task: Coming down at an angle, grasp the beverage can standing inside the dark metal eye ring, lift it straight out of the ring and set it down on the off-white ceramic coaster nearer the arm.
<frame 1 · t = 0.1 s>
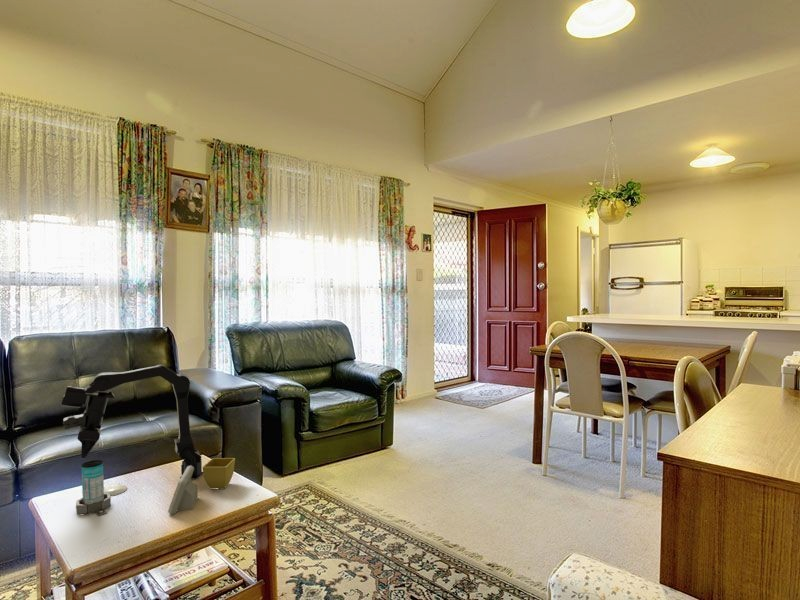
hand: (83, 453, 164), 15 cm above the table, tool pointing down, fingers open, 9 cm apart
digital clock: (182, 505, 158), on the table
coaster: (112, 490, 170), on the table
eye ring: (93, 508, 157), on the table
flower pot: (219, 487, 172), on the table
beverage can: (93, 508, 157), resting in eye ring
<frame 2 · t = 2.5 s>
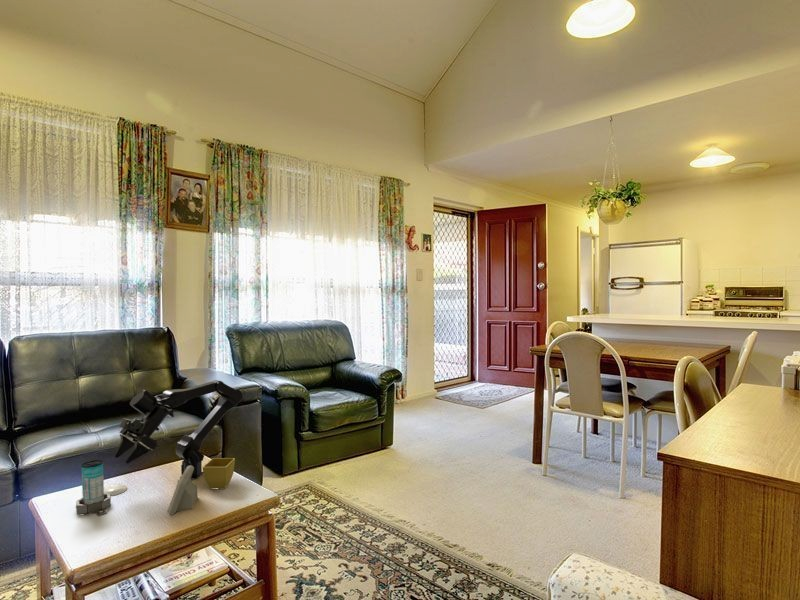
hand: (120, 460, 163), 13 cm above the table, tool tilted 45°, fingers open, 9 cm apart
nothing on the table moved.
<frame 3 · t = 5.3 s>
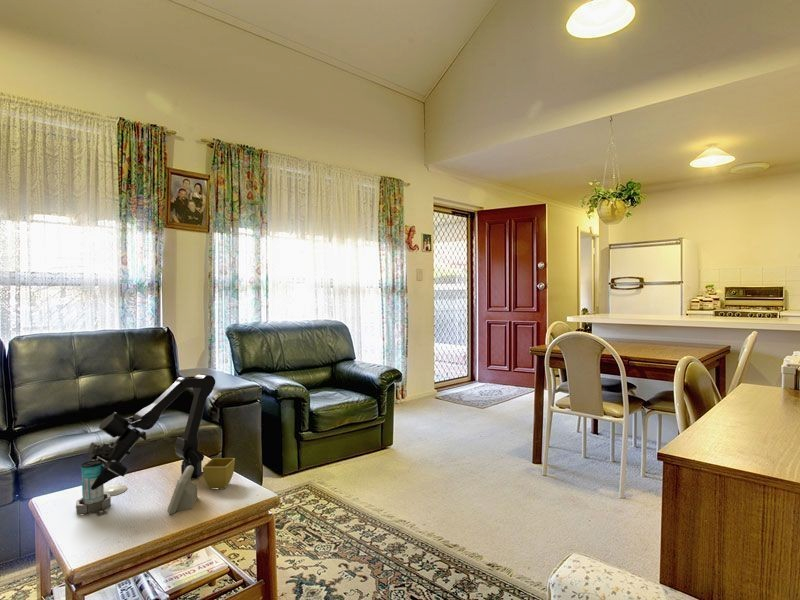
hand: (88, 486, 155), 8 cm above the table, tool tilted 45°, fingers closed on beverage can, 6 cm apart
beverage can: (93, 508, 157), resting in eye ring, touching gripper
everything else where it was.
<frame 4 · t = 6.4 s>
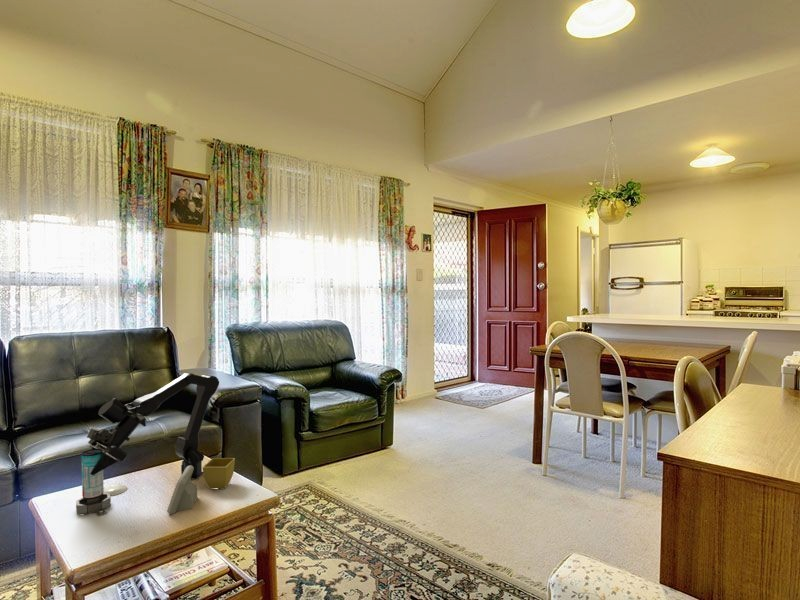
hand: (88, 472, 155), 12 cm above the table, tool tilted 45°, fingers closed on beverage can, 6 cm apart
beverage can: (93, 496, 157), point 4 cm above the table, touching gripper
everything else where it was.
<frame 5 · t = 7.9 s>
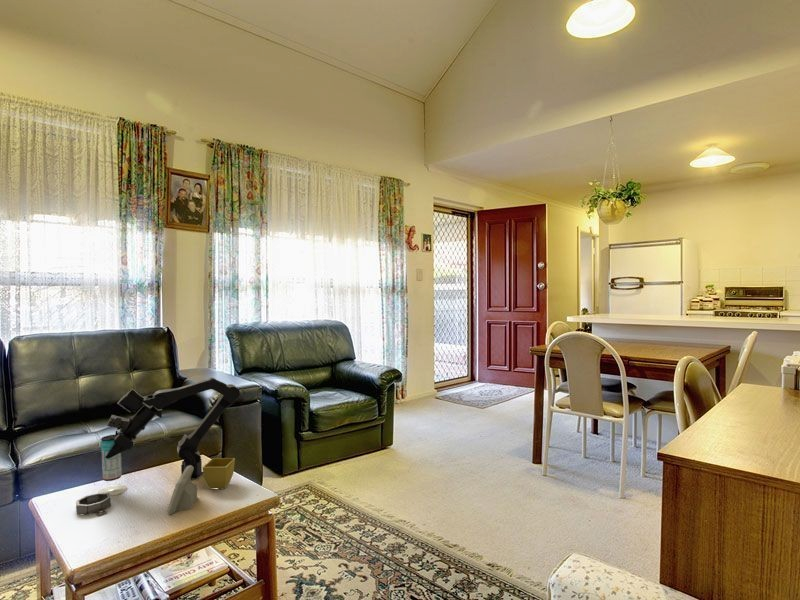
hand: (107, 455, 169), 13 cm above the table, tool tilted 45°, fingers closed on beverage can, 6 cm apart
beverage can: (112, 478, 170), point 4 cm above the table, touching gripper
everything else where it was.
when the fingers open (9 cm above the table, at t = 9.3 s): beverage can stays where it is, resting on coaster.
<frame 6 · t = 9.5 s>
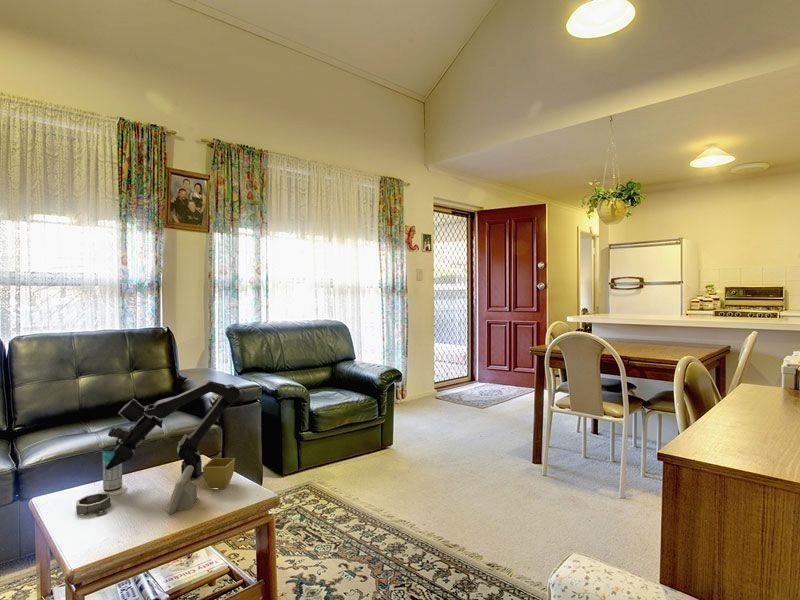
hand: (107, 465, 169), 10 cm above the table, tool tilted 45°, fingers open, 8 cm apart
beverage can: (113, 489, 170), resting on coaster
everything else where it was.
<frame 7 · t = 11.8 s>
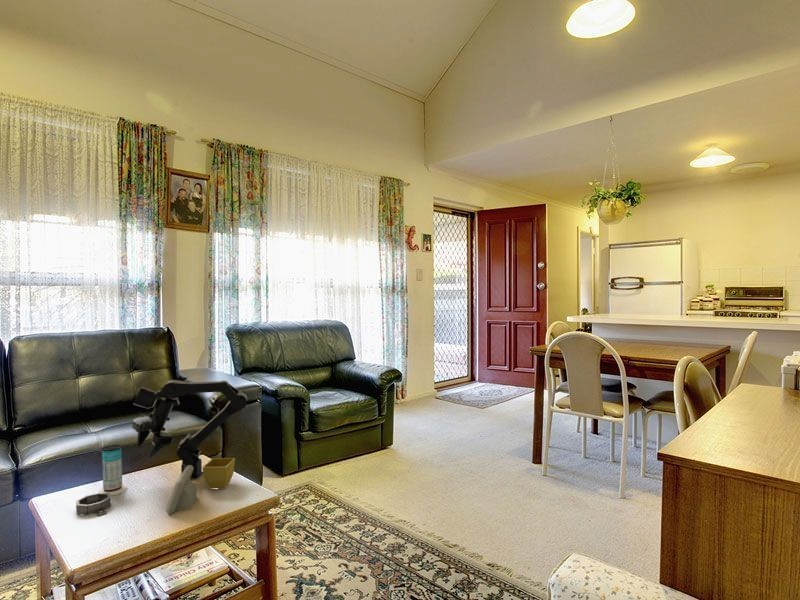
hand: (144, 451, 178), 11 cm above the table, tool tilted 25°, fingers open, 9 cm apart
nothing on the table moved.
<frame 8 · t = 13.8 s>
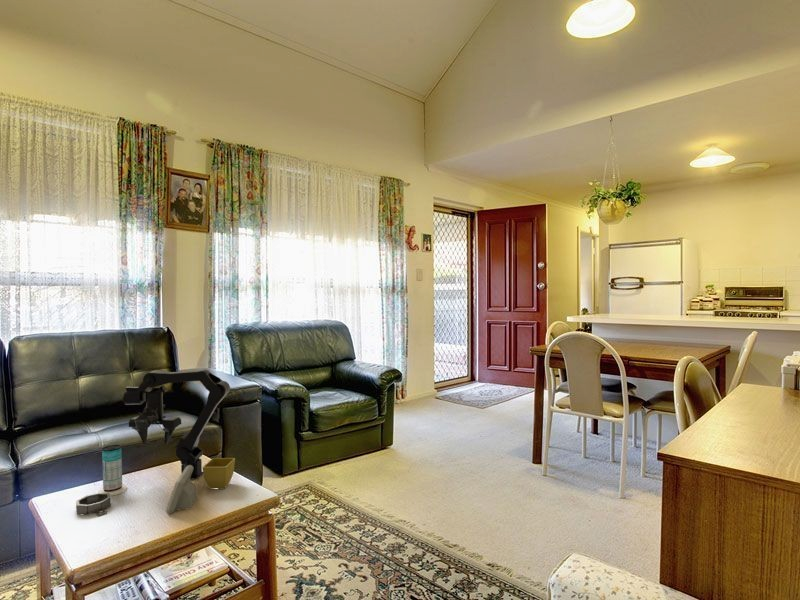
hand: (155, 444, 181), 13 cm above the table, tool pointing down, fingers open, 9 cm apart
nothing on the table moved.
at the end: beverage can 0.2 cm from the coaster (horizontally); beverage can tilted 0°; beverage can point 0.5 cm above the table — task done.
